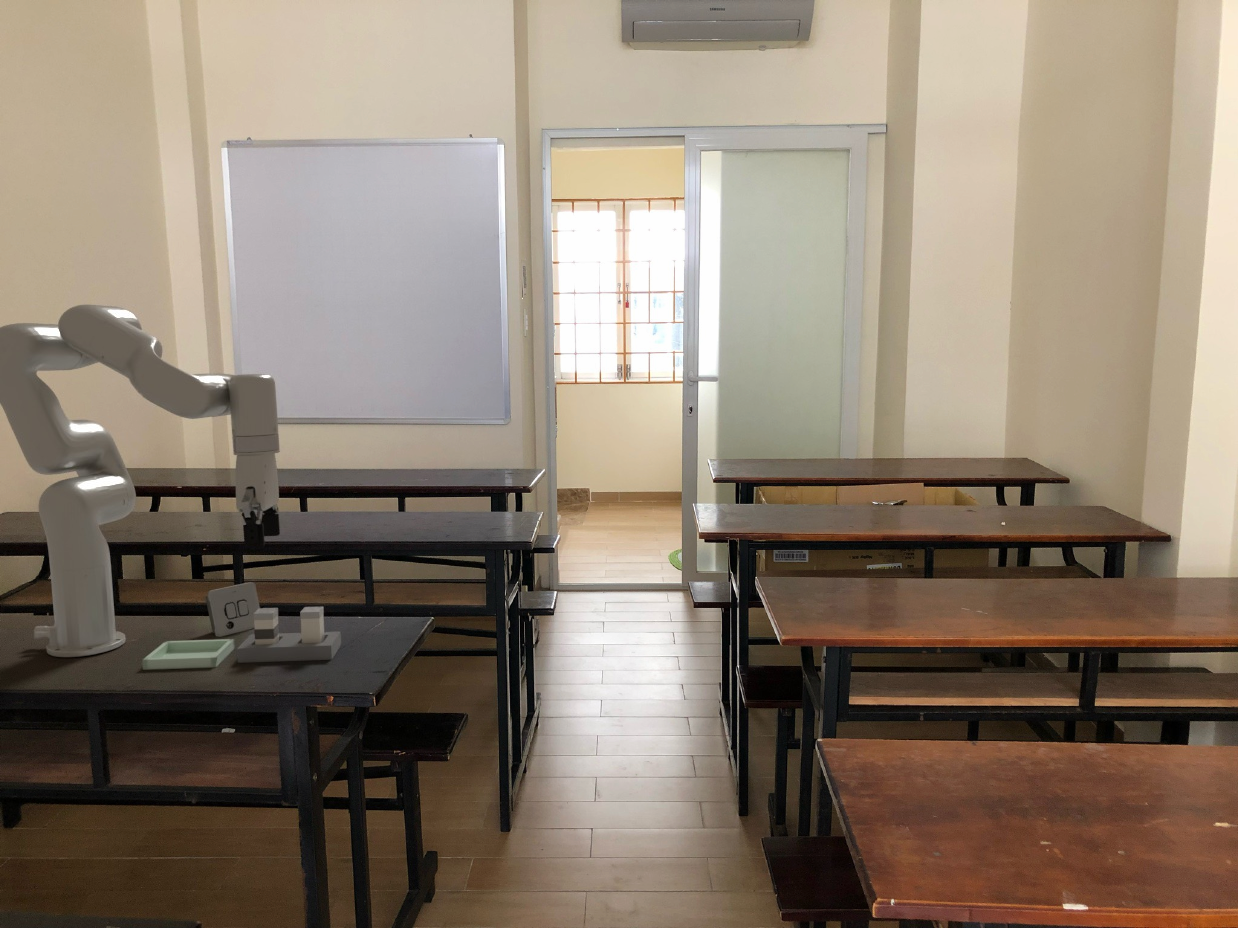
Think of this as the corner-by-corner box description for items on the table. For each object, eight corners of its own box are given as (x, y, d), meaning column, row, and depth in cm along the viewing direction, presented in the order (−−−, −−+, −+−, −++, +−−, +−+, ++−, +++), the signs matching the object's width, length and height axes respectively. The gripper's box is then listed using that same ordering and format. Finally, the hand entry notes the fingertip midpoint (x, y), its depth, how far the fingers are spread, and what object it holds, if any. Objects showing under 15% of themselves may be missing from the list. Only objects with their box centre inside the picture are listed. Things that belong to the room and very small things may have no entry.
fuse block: (237, 665, 156) (237, 648, 156) (251, 649, 164) (250, 634, 164) (331, 661, 158) (331, 645, 157) (341, 647, 166) (340, 631, 165)
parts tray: (143, 672, 153) (142, 659, 152) (166, 652, 162) (165, 641, 162) (216, 669, 154) (215, 657, 154) (234, 650, 164) (234, 638, 163)
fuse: (302, 655, 159) (300, 612, 158) (306, 649, 163) (304, 606, 162) (321, 655, 160) (319, 611, 159) (325, 649, 163) (323, 606, 162)
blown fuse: (255, 657, 159) (253, 613, 158) (261, 651, 162) (258, 608, 161) (274, 656, 159) (272, 613, 158) (279, 650, 162) (277, 607, 161)
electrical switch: (218, 640, 170) (213, 591, 169) (205, 637, 173) (200, 589, 173) (264, 628, 177) (259, 582, 177) (250, 625, 180) (246, 580, 180)
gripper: (249, 441, 164) (255, 532, 166) (217, 450, 147) (224, 552, 149) (291, 439, 165) (297, 531, 167) (264, 449, 148) (271, 550, 150)
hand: (262, 541), depth 158 cm, fingers open, 9 cm apart
